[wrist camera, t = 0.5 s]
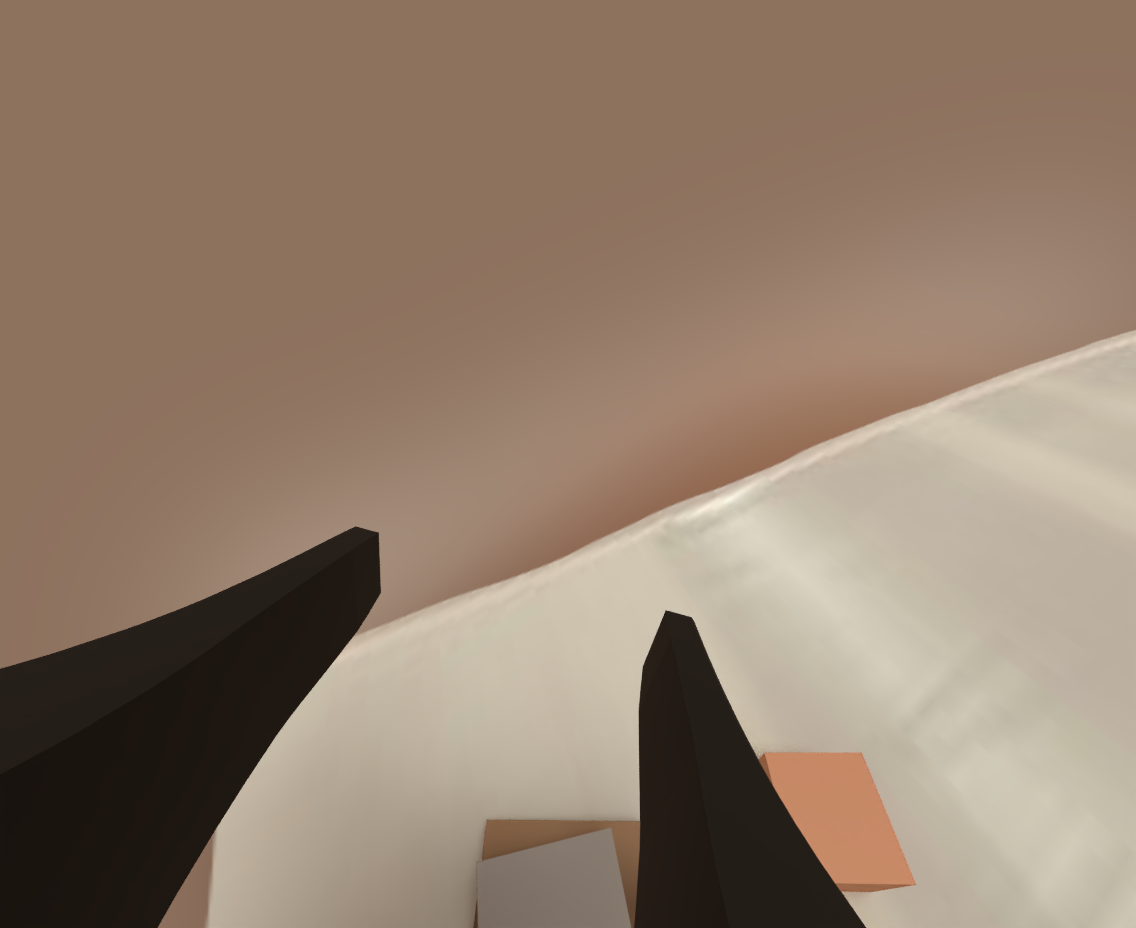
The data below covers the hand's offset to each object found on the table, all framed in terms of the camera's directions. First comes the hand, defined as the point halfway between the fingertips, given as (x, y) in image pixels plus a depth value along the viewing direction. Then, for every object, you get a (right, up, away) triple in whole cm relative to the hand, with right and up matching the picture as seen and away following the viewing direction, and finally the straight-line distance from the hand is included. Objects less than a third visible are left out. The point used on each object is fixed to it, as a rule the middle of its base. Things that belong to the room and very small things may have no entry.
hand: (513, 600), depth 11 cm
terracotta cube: (+13, -15, +11) cm, 23 cm away
